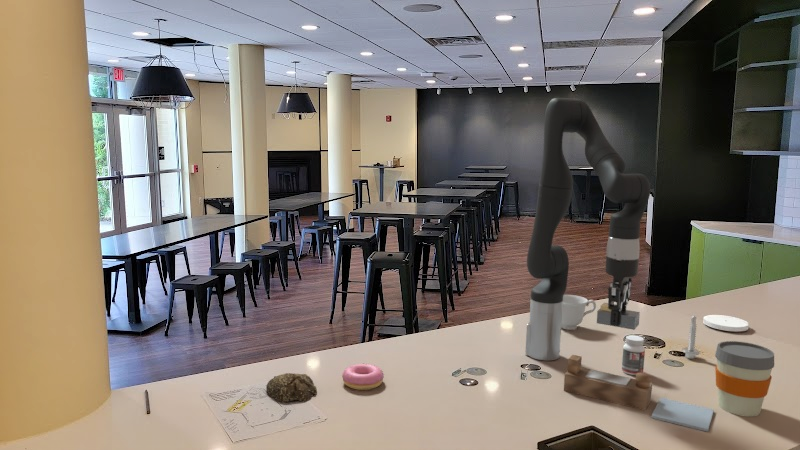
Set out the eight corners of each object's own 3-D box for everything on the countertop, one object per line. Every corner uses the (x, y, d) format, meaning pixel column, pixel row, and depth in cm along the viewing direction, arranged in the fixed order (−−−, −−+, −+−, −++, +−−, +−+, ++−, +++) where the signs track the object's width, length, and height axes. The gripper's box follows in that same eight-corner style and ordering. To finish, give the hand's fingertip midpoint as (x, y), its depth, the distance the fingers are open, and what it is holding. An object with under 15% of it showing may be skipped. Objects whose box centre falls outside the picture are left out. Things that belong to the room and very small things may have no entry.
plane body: (563, 390, 160) (565, 360, 159) (571, 381, 166) (573, 352, 165) (645, 410, 149) (647, 378, 148) (650, 399, 155) (653, 369, 154)
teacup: (599, 333, 206) (601, 304, 204) (554, 332, 206) (556, 303, 205) (589, 322, 218) (591, 294, 216) (546, 321, 218) (548, 293, 217)
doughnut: (364, 372, 170) (365, 357, 169) (392, 384, 162) (392, 369, 162) (333, 383, 162) (333, 367, 162) (361, 396, 155) (361, 380, 154)
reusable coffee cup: (767, 424, 143) (775, 362, 141) (707, 411, 150) (713, 351, 147) (769, 405, 153) (776, 347, 151) (713, 393, 160) (718, 337, 158)
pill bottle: (644, 376, 170) (647, 342, 168) (623, 374, 171) (625, 340, 170) (641, 369, 175) (643, 335, 174) (620, 367, 177) (622, 333, 175)
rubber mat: (651, 417, 145) (651, 415, 145) (660, 399, 155) (660, 397, 155) (707, 431, 139) (707, 429, 139) (713, 411, 149) (713, 409, 149)
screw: (701, 357, 185) (694, 361, 182) (685, 353, 189) (678, 357, 186) (706, 316, 183) (699, 319, 180) (689, 312, 187) (682, 315, 184)
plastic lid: (697, 320, 224) (697, 313, 223) (738, 322, 222) (739, 316, 221) (711, 332, 210) (711, 325, 209) (755, 335, 208) (755, 328, 208)
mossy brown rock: (263, 386, 160) (263, 368, 159) (310, 380, 164) (310, 362, 164) (273, 407, 148) (273, 387, 147) (323, 399, 153) (323, 380, 152)
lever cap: (596, 323, 154) (597, 306, 153) (602, 318, 158) (603, 301, 158) (634, 329, 149) (635, 312, 149) (638, 324, 153) (640, 307, 153)
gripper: (614, 249, 159) (609, 313, 162) (599, 258, 147) (594, 327, 150) (644, 252, 155) (639, 318, 158) (631, 262, 143) (626, 333, 146)
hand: (617, 322), depth 154 cm, fingers closed on lever cap, 5 cm apart
